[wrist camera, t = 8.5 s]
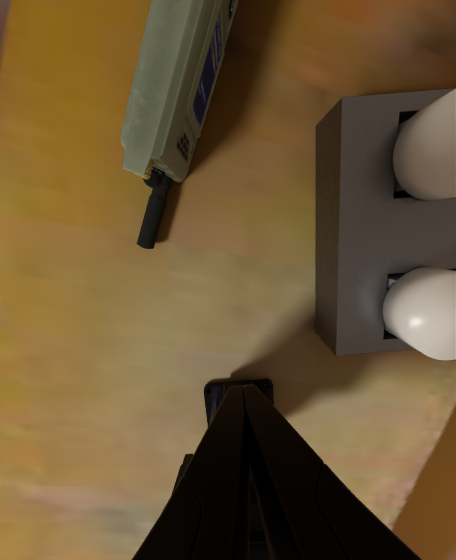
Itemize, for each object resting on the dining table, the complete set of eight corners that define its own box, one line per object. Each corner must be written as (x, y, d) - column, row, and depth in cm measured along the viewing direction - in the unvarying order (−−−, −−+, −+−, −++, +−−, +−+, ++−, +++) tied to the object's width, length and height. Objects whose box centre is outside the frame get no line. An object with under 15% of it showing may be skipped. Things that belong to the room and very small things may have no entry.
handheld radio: (280, -116, 15) (170, 253, 20) (232, -138, 15) (132, 240, 20) (319, -387, 8) (139, 264, 13) (232, -432, 8) (83, 245, 13)
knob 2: (414, 318, 21) (493, 356, 15) (352, 324, 21) (406, 364, 15) (420, 256, 20) (509, 270, 14) (354, 262, 20) (414, 278, 14)
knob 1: (425, 202, 19) (524, 190, 13) (357, 208, 19) (421, 198, 13) (433, 125, 18) (547, 70, 11) (359, 131, 18) (433, 79, 11)
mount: (445, 321, 22) (494, 342, 18) (315, 332, 21) (336, 355, 18) (472, 113, 18) (542, 81, 14) (315, 126, 18) (342, 97, 14)
